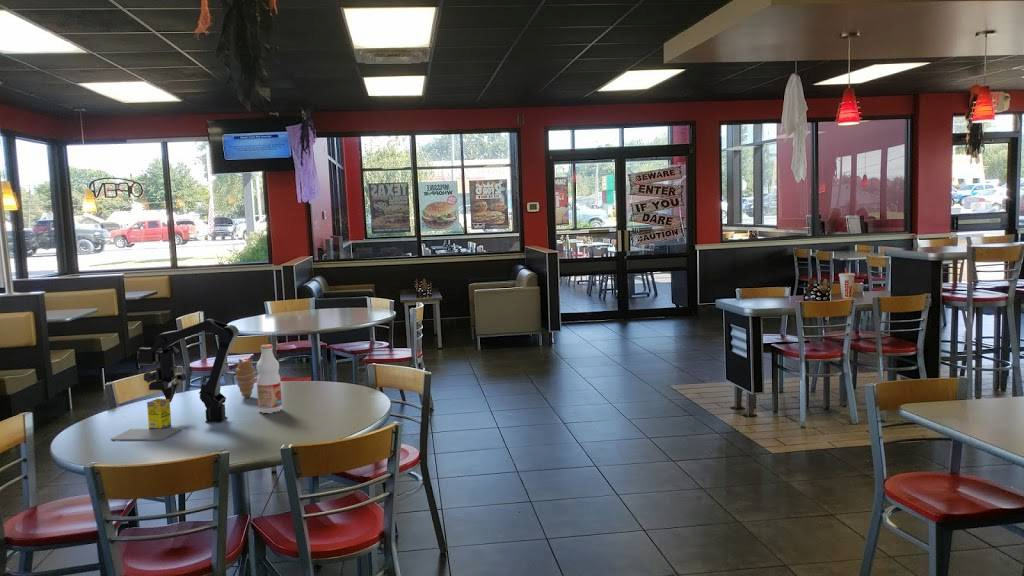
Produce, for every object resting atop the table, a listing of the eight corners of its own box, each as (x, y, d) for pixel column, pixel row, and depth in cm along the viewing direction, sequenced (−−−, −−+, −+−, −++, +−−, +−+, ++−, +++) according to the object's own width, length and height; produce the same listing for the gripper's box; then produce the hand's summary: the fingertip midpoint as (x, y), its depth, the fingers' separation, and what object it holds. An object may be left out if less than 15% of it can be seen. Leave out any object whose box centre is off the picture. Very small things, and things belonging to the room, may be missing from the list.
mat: (180, 430, 293) (180, 428, 293) (163, 440, 280) (163, 439, 280) (130, 430, 294) (130, 428, 294) (110, 440, 281) (110, 439, 281)
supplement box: (162, 430, 293) (160, 402, 292) (148, 429, 295) (146, 402, 293) (171, 426, 299) (170, 398, 298) (158, 425, 300) (156, 398, 299)
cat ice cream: (252, 394, 348) (250, 355, 347) (260, 397, 343) (257, 358, 341) (233, 398, 342) (231, 358, 341) (241, 401, 337) (238, 361, 335)
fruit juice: (257, 410, 321) (253, 344, 318) (280, 407, 325) (276, 342, 322) (260, 415, 312) (256, 348, 309) (283, 412, 316) (280, 345, 313)
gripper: (159, 359, 312) (162, 396, 314) (133, 369, 294) (136, 408, 295) (185, 359, 311) (188, 396, 313) (161, 369, 293) (164, 408, 294)
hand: (169, 402), depth 304 cm, fingers closed
